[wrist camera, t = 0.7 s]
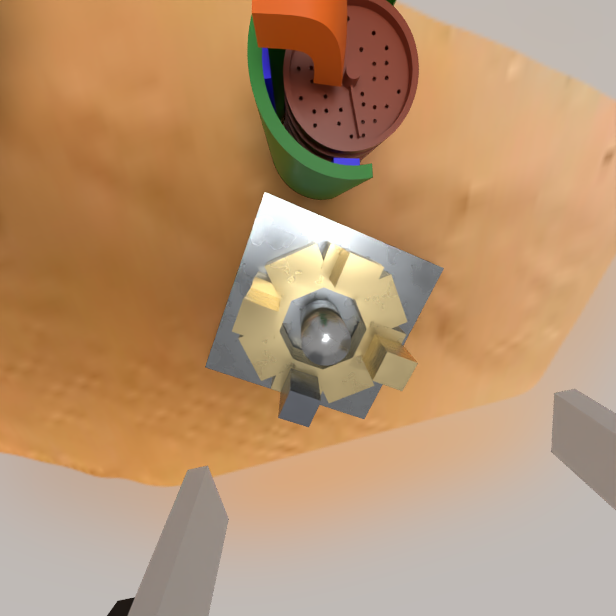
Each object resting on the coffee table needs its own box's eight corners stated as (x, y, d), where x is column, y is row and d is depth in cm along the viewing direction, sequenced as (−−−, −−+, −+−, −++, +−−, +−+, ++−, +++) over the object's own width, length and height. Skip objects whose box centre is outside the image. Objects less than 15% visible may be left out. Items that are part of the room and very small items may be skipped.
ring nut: (227, 359, 33) (208, 395, 26) (277, 220, 29) (271, 220, 22) (356, 402, 35) (371, 446, 28) (419, 279, 31) (454, 296, 24)
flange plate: (208, 361, 35) (184, 400, 27) (266, 193, 30) (256, 184, 22) (361, 411, 38) (378, 460, 30) (437, 266, 33) (480, 280, 25)
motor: (363, 196, 30) (478, 156, 11) (276, 203, 30) (242, 175, 11) (360, 80, 27) (510, -244, 8) (264, 87, 27) (190, -225, 8)
